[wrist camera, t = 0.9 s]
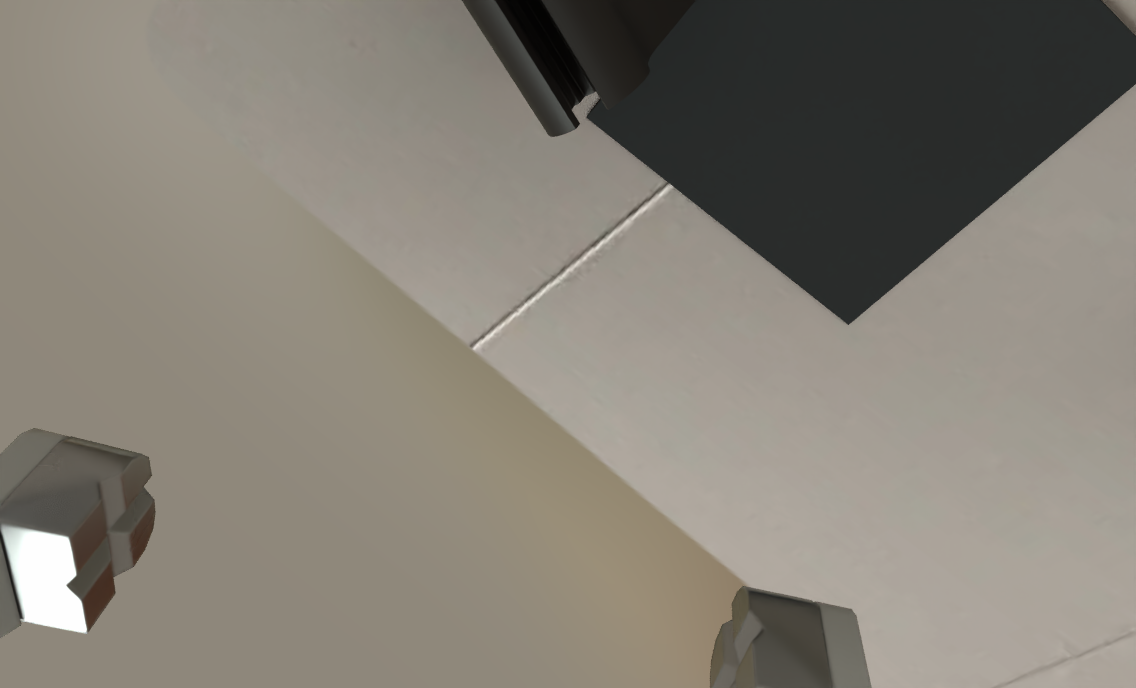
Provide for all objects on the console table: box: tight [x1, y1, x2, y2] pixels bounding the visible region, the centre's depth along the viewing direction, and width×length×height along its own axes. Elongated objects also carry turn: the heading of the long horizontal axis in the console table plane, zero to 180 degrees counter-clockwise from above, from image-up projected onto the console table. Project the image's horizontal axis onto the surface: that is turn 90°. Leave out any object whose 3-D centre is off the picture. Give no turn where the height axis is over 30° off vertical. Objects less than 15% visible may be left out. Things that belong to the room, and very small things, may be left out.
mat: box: [587, 0, 1136, 325], centre depth 32 cm, size 14×14×1 cm
